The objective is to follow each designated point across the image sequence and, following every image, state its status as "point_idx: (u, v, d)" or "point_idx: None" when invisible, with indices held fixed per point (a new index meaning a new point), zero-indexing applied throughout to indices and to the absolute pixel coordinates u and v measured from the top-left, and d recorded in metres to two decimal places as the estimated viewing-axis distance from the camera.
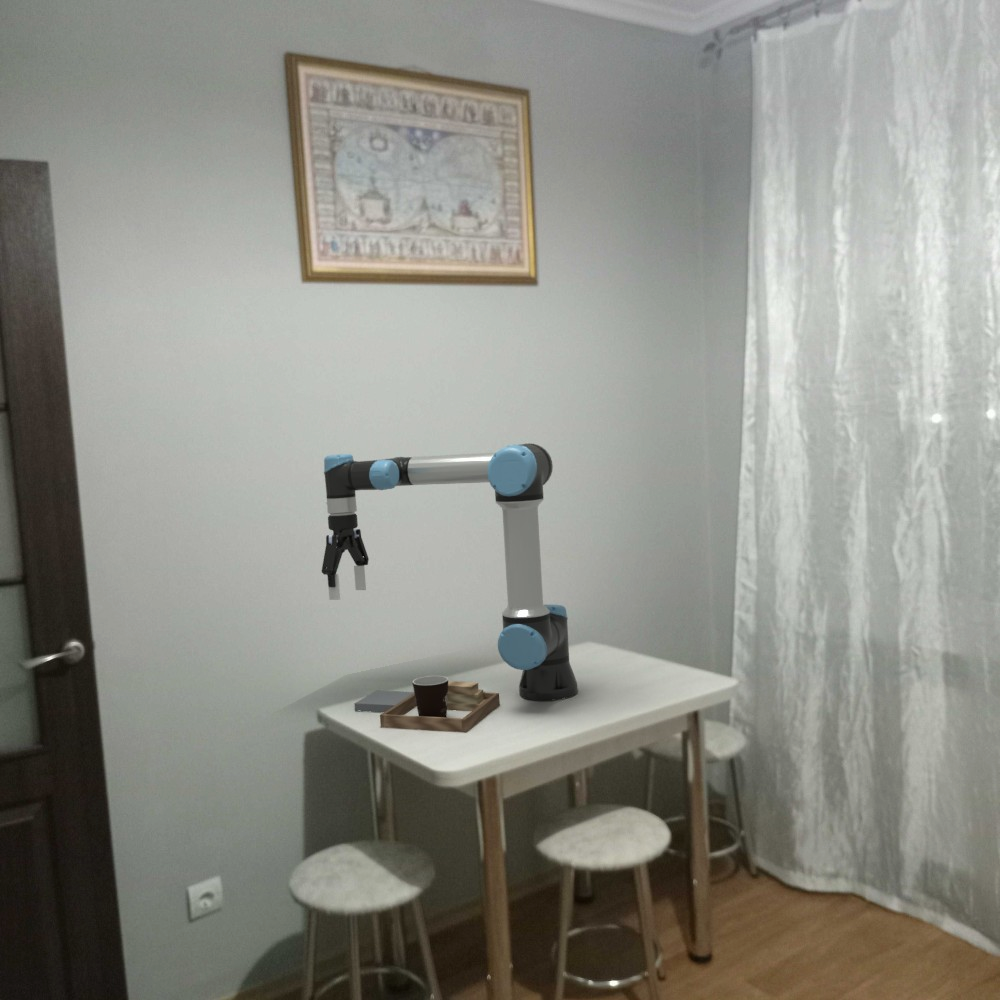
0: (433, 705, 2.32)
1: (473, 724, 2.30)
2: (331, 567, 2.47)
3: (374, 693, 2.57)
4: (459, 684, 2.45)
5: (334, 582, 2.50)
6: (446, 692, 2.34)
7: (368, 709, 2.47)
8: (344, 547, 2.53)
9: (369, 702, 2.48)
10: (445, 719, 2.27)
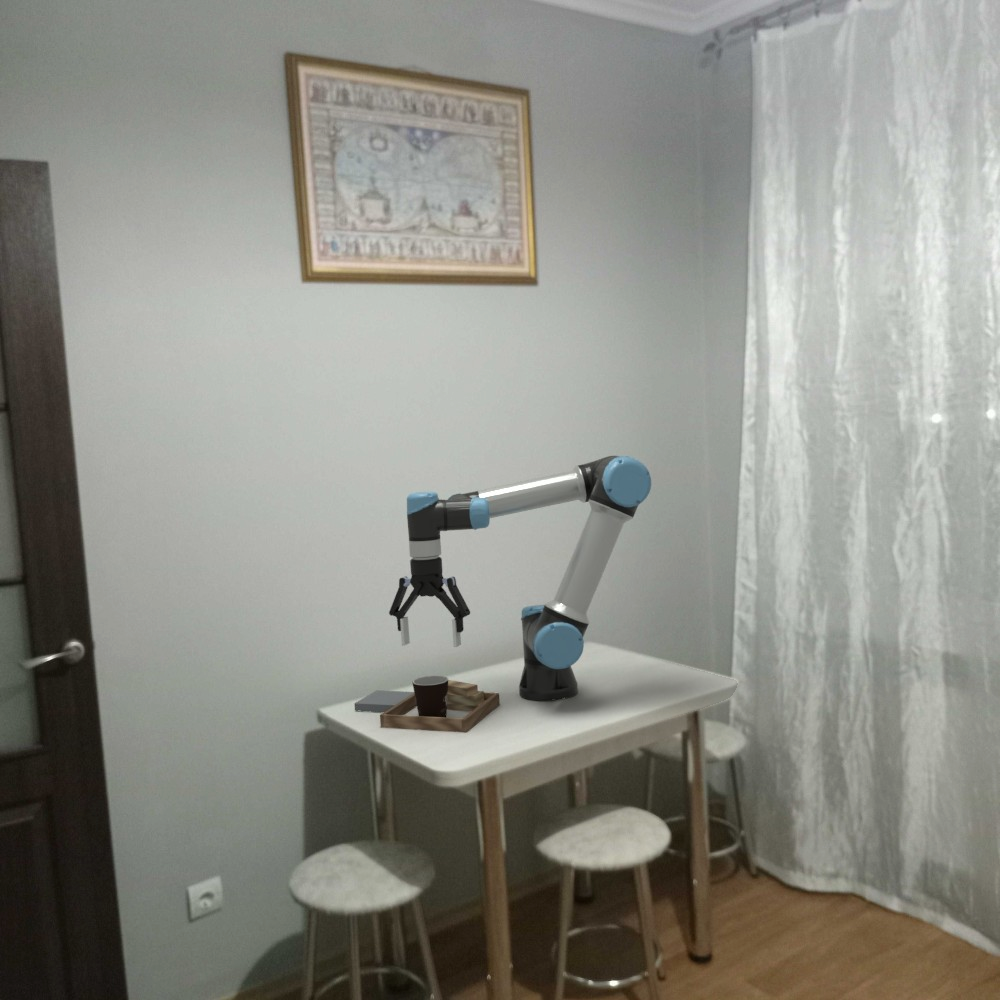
0: (433, 705, 2.32)
1: (473, 724, 2.30)
2: (392, 609, 2.37)
3: (374, 693, 2.57)
4: (459, 685, 2.45)
5: (400, 626, 2.38)
6: (446, 692, 2.34)
7: (368, 709, 2.47)
8: (413, 593, 2.34)
9: (369, 702, 2.48)
10: (445, 719, 2.27)
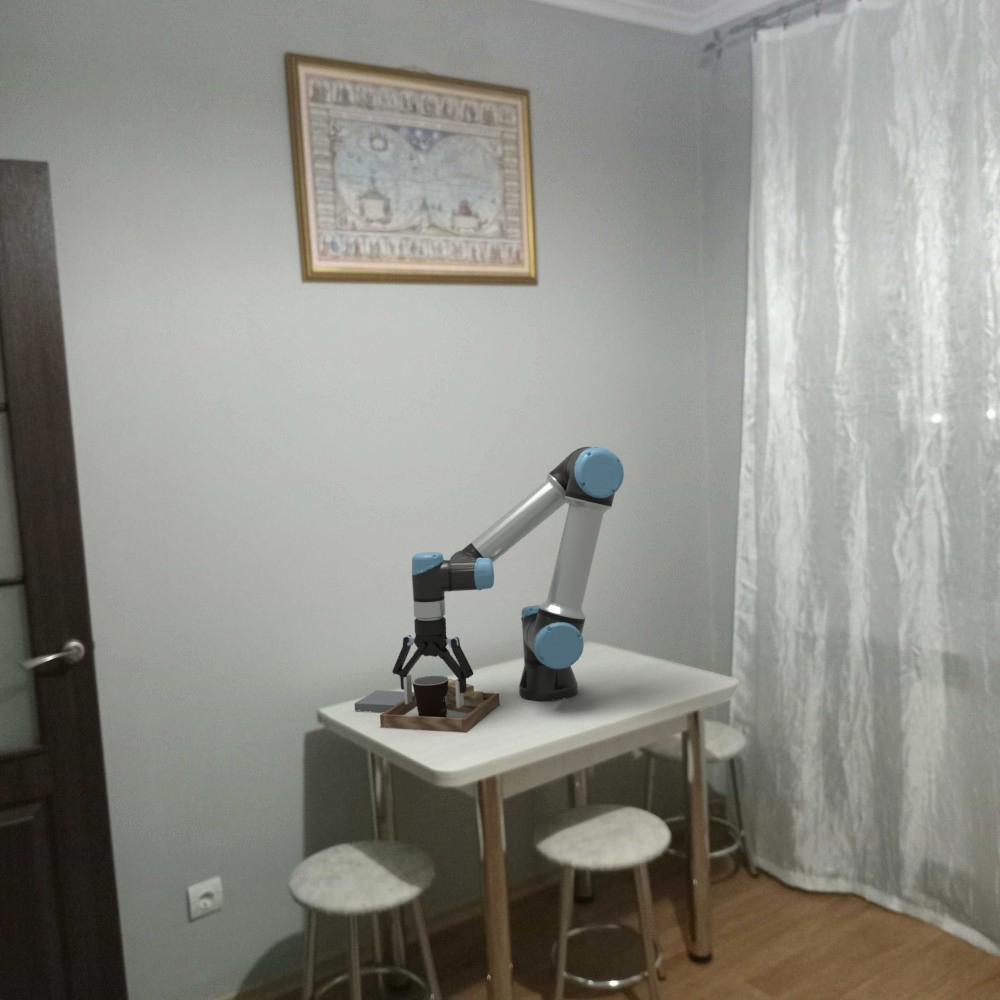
0: (433, 705, 2.32)
1: (473, 724, 2.30)
2: (395, 668, 2.38)
3: (374, 693, 2.57)
4: None
5: (403, 685, 2.39)
6: (446, 692, 2.34)
7: (368, 709, 2.47)
8: (417, 653, 2.35)
9: (369, 702, 2.48)
10: (445, 719, 2.27)
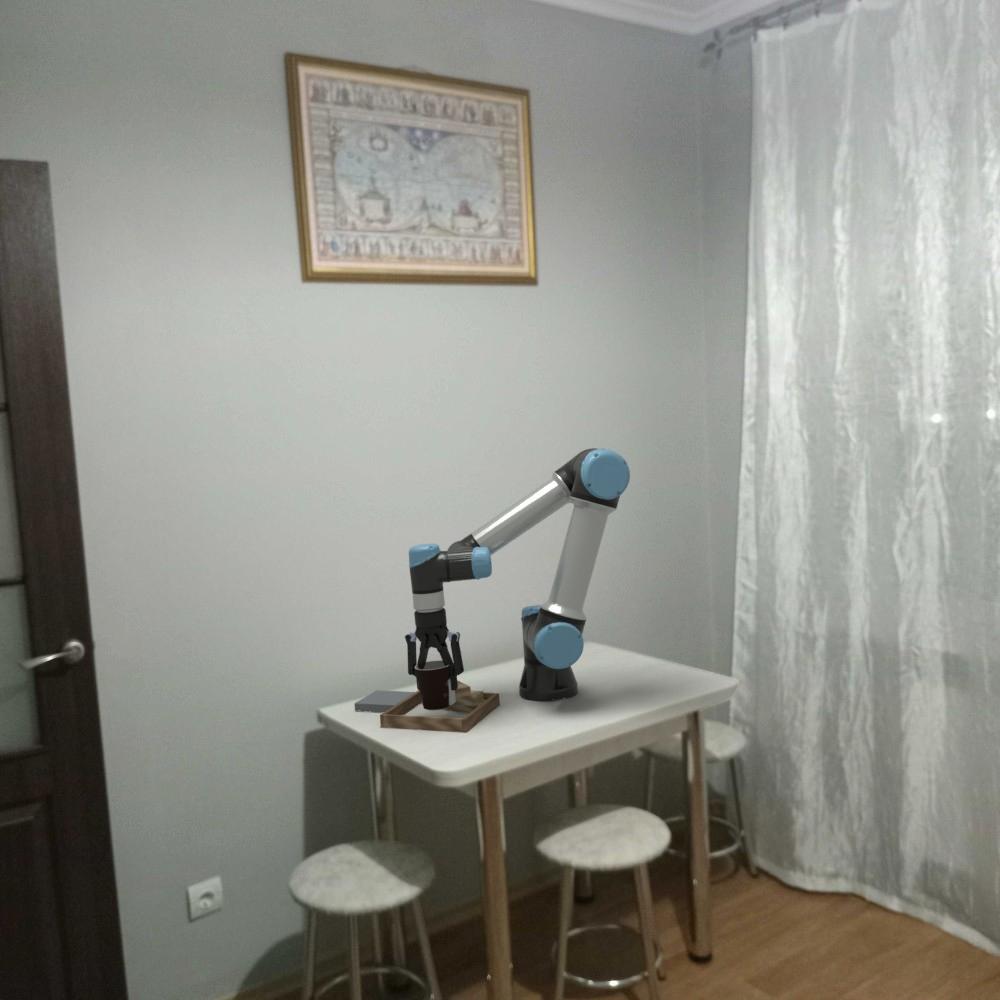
0: (436, 690, 2.32)
1: (473, 724, 2.30)
2: (409, 669, 2.37)
3: (374, 693, 2.57)
4: None
5: None
6: (448, 676, 2.34)
7: (368, 709, 2.47)
8: (422, 647, 2.35)
9: (369, 702, 2.48)
10: (445, 719, 2.27)
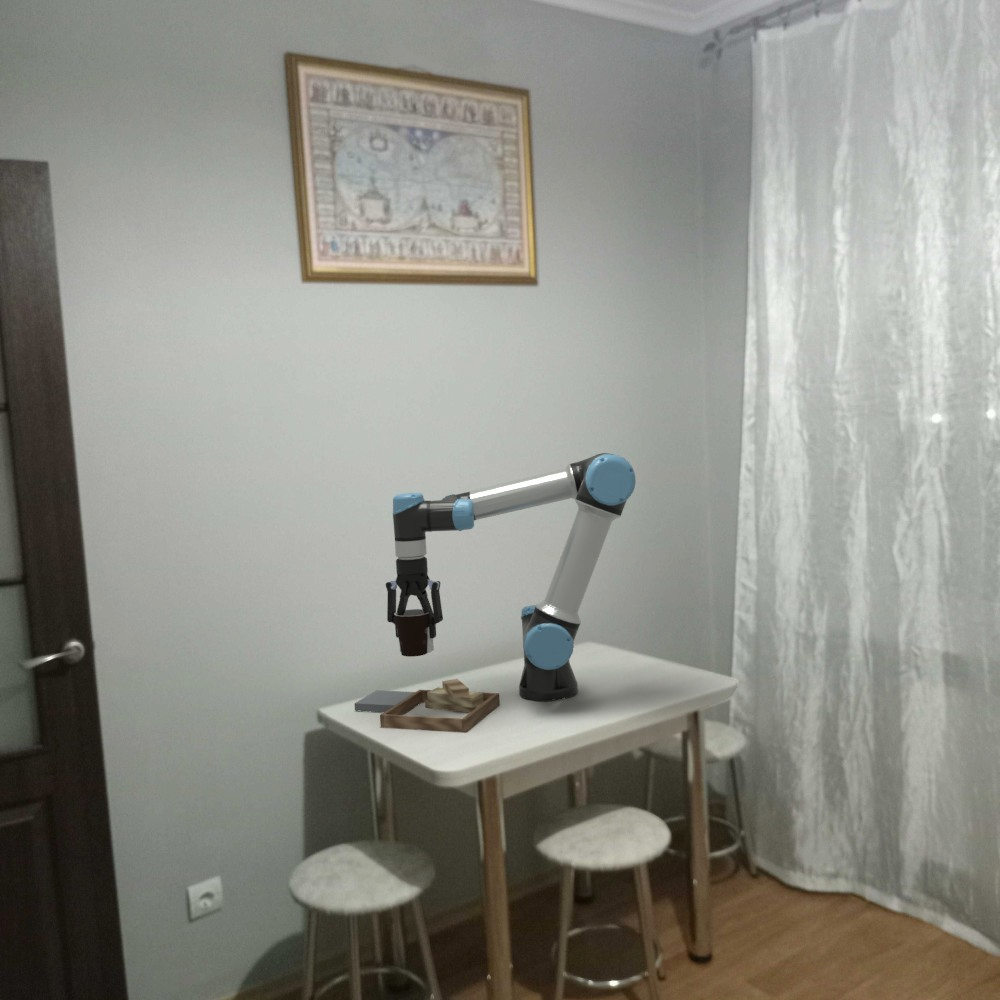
0: (415, 636, 2.35)
1: (473, 724, 2.30)
2: (389, 616, 2.40)
3: (374, 693, 2.57)
4: (454, 685, 2.44)
5: None
6: None
7: (368, 709, 2.47)
8: (402, 594, 2.38)
9: (369, 702, 2.48)
10: (445, 719, 2.27)
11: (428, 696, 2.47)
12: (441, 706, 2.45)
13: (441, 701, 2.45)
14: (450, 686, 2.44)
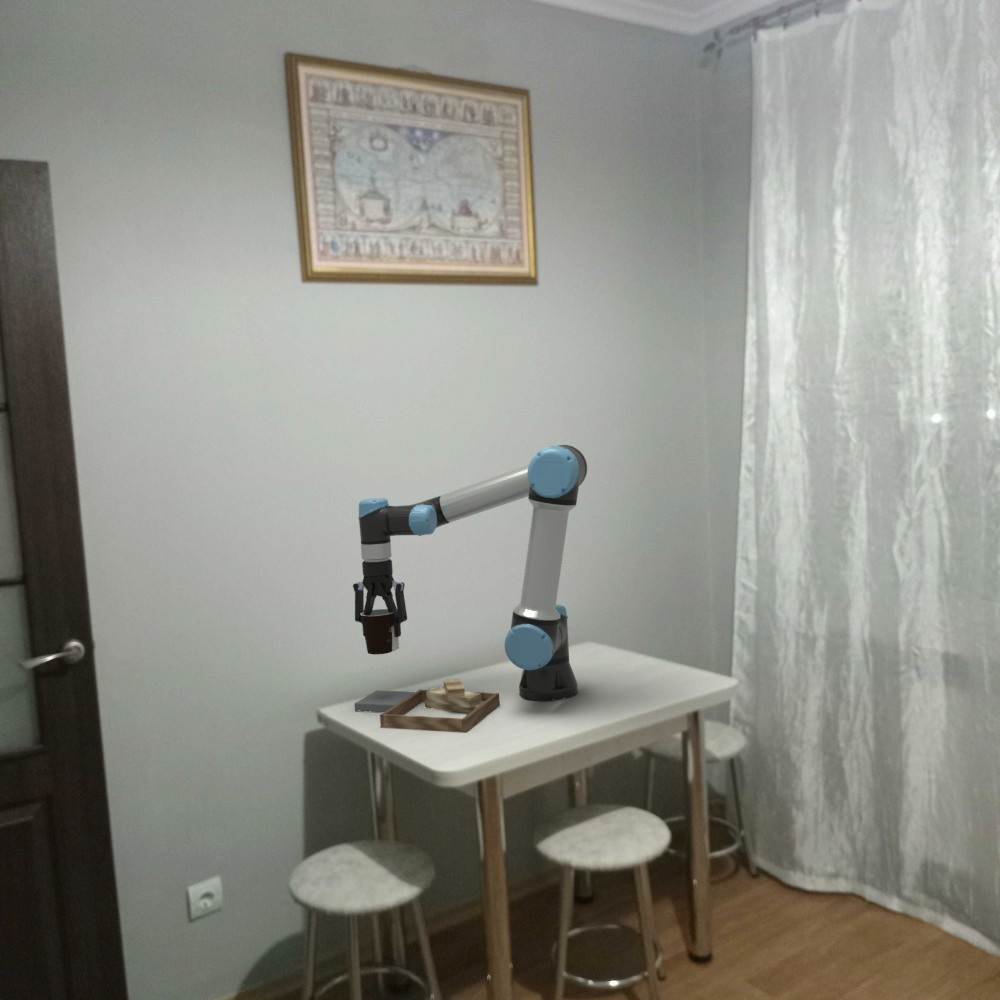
0: (379, 635, 2.46)
1: (473, 724, 2.30)
2: (356, 616, 2.51)
3: (374, 693, 2.57)
4: (452, 685, 2.44)
5: None
6: (392, 623, 2.48)
7: (368, 709, 2.47)
8: (368, 595, 2.49)
9: (369, 702, 2.48)
10: (445, 719, 2.27)
11: (427, 696, 2.47)
12: (441, 706, 2.45)
13: (439, 701, 2.45)
14: (448, 686, 2.44)
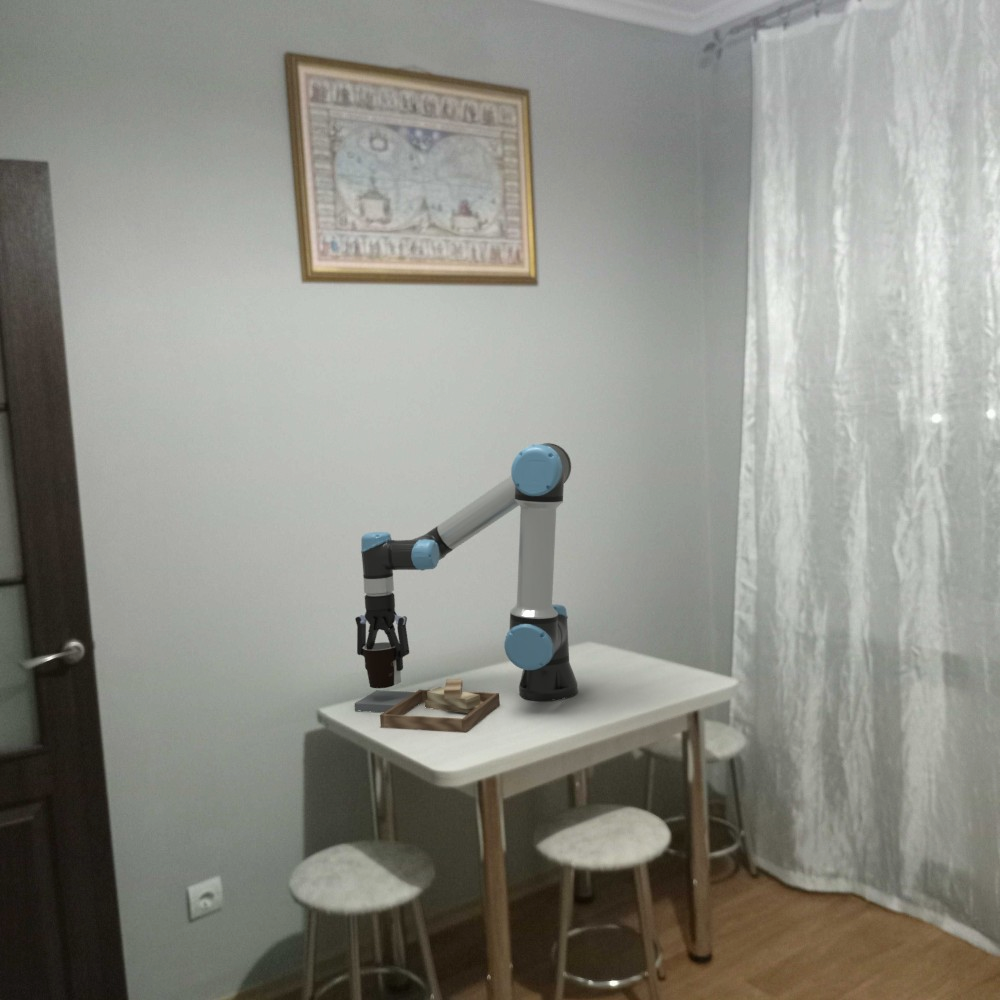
0: (381, 669, 2.46)
1: (473, 724, 2.30)
2: (358, 649, 2.52)
3: (374, 693, 2.57)
4: (451, 685, 2.44)
5: None
6: (394, 657, 2.48)
7: (368, 709, 2.47)
8: (370, 629, 2.50)
9: (369, 702, 2.48)
10: (445, 719, 2.27)
11: (428, 695, 2.47)
12: (440, 706, 2.45)
13: (439, 701, 2.45)
14: (446, 686, 2.44)
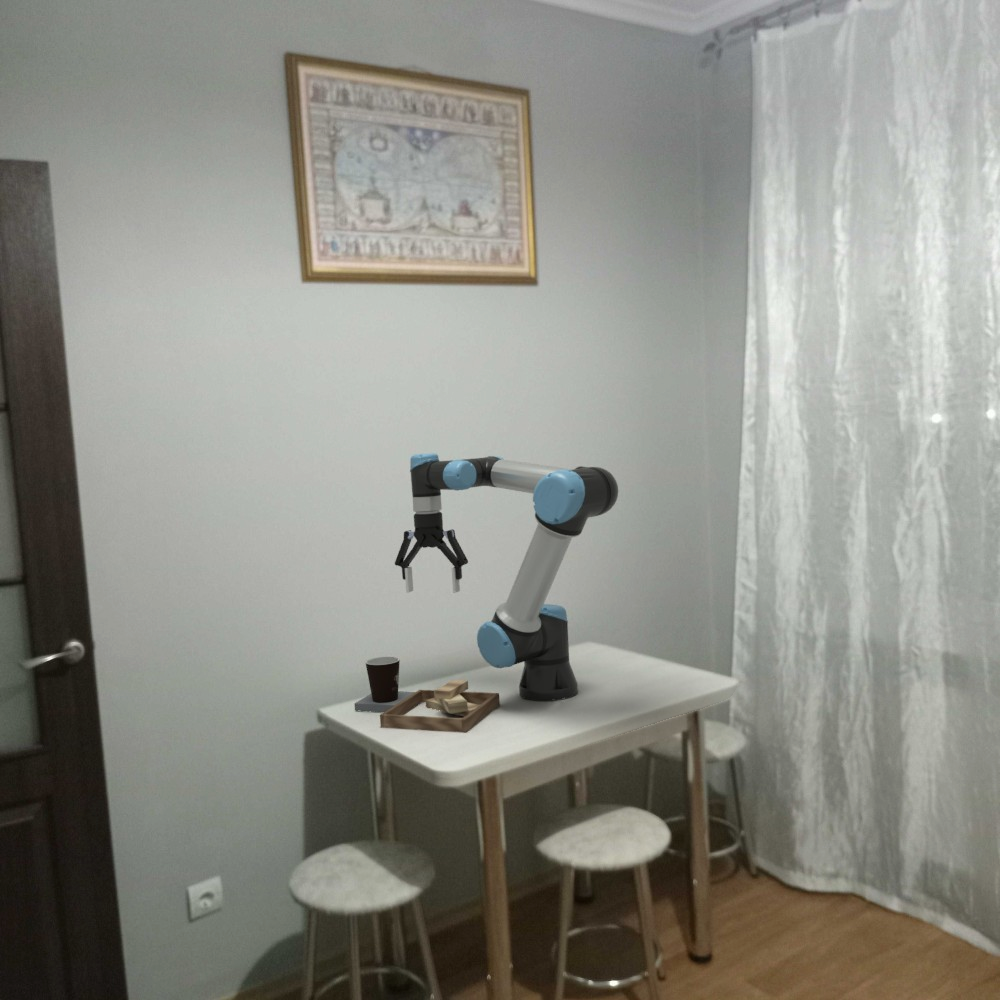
0: (384, 684, 2.46)
1: (473, 724, 2.30)
2: (397, 560, 2.63)
3: None
4: (448, 686, 2.43)
5: (404, 575, 2.63)
6: (397, 671, 2.49)
7: (368, 709, 2.47)
8: (416, 544, 2.60)
9: (369, 702, 2.48)
10: (445, 719, 2.27)
11: (434, 694, 2.48)
12: (439, 706, 2.45)
13: (438, 701, 2.44)
14: (443, 686, 2.43)
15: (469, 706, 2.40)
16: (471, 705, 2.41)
